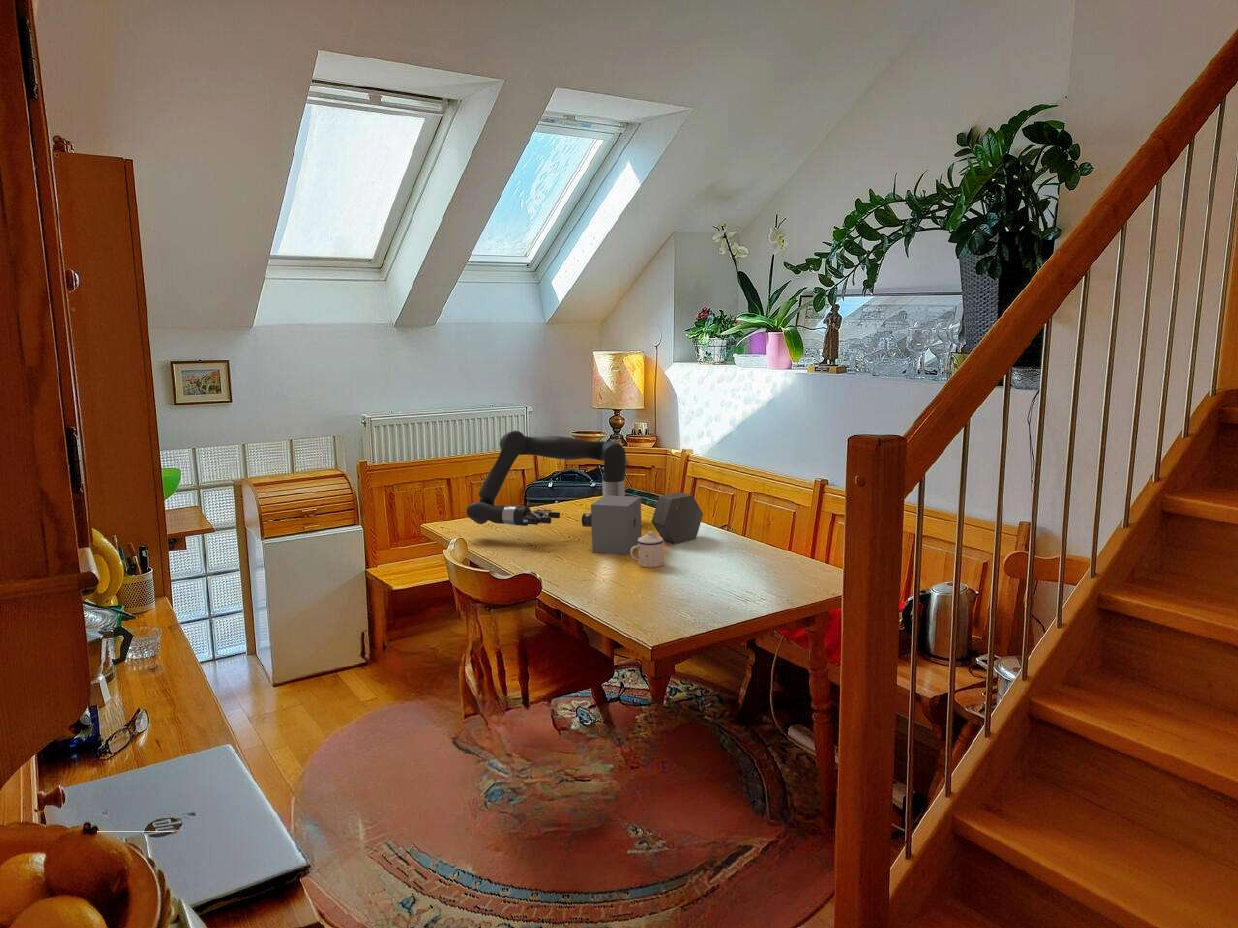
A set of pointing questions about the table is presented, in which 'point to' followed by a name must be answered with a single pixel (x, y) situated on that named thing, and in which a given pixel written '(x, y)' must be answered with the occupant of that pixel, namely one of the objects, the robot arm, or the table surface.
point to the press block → (615, 524)
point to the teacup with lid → (649, 550)
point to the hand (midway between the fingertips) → (555, 518)
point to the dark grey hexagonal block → (677, 517)
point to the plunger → (586, 520)
